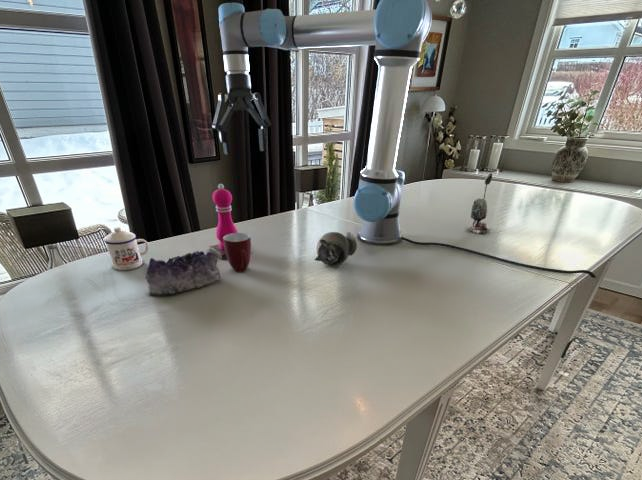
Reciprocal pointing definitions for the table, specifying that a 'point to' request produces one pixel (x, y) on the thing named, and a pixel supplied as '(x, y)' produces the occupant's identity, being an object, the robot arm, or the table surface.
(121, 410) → the table surface
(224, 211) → the pepper mill
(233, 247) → the mug
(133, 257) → the teacup with lid
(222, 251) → the grey angular chunk
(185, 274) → the geode
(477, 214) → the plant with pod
